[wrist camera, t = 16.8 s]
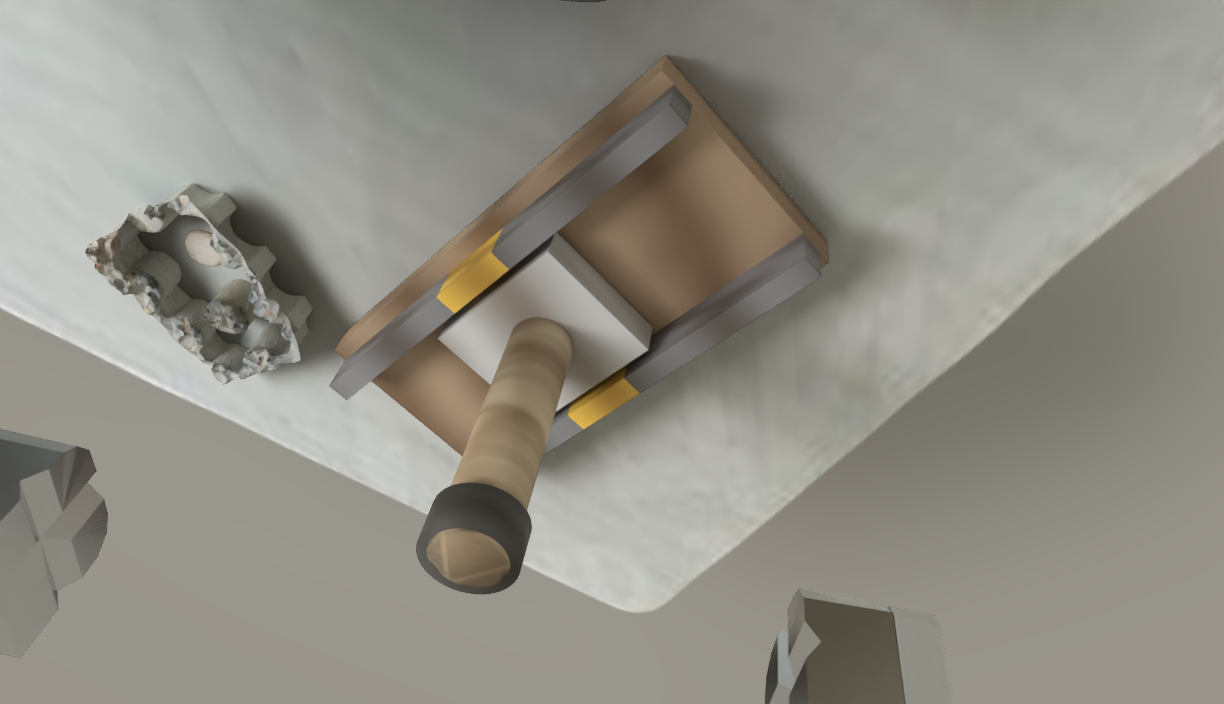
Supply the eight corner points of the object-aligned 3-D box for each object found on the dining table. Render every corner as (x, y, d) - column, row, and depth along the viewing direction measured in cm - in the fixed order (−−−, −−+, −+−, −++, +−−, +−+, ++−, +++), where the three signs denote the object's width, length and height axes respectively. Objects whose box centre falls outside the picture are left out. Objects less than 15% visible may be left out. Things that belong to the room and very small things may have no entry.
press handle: (543, 401, 51) (467, 645, 38) (448, 316, 48) (333, 547, 36) (652, 327, 47) (608, 570, 34) (555, 231, 45) (469, 454, 32)
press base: (499, 458, 57) (481, 509, 53) (347, 329, 53) (317, 376, 49) (827, 241, 45) (831, 288, 42) (665, 55, 41) (656, 90, 38)
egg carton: (116, 208, 50) (71, 245, 47) (224, 165, 48) (183, 200, 45) (232, 360, 56) (199, 403, 52) (335, 328, 53) (306, 371, 50)
